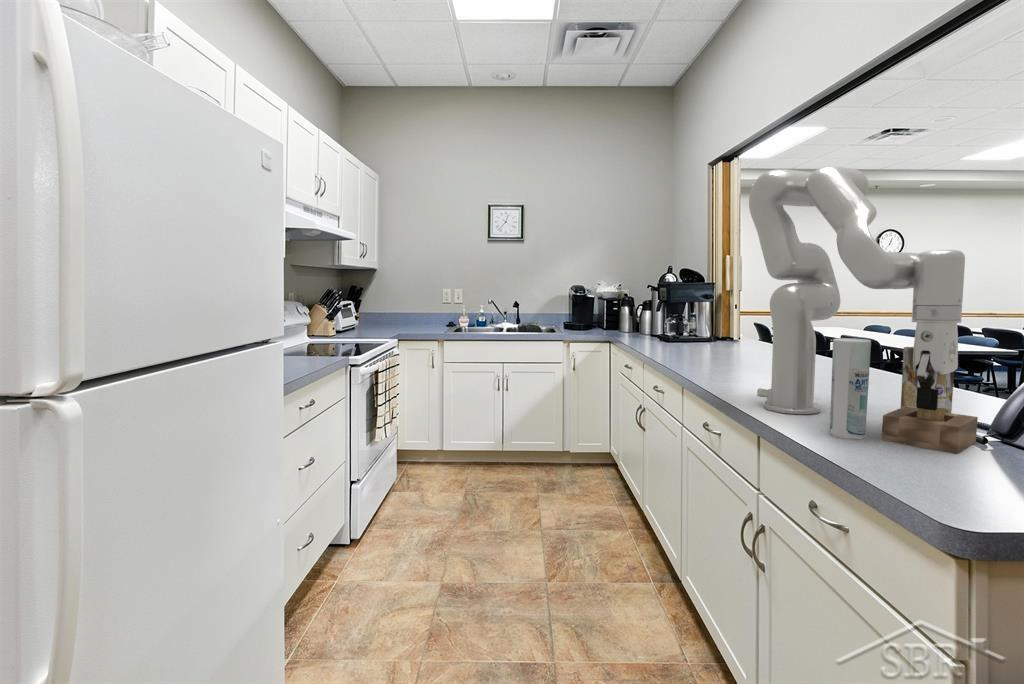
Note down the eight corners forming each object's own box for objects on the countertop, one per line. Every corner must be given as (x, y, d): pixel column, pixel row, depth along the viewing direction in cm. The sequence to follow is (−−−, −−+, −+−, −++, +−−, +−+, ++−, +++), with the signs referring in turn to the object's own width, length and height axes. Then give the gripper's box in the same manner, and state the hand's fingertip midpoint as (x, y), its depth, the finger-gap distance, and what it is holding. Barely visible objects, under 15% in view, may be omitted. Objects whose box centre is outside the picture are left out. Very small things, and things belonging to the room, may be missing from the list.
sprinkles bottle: (929, 426, 102) (933, 357, 100) (909, 420, 106) (913, 354, 105) (951, 425, 102) (955, 356, 101) (930, 419, 107) (934, 353, 105)
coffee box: (952, 421, 119) (957, 350, 117) (921, 420, 120) (926, 350, 118) (926, 411, 128) (931, 346, 126) (898, 411, 129) (902, 346, 127)
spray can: (841, 429, 114) (845, 337, 112) (872, 436, 108) (878, 339, 106) (822, 433, 111) (826, 339, 109) (853, 441, 105) (858, 341, 103)
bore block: (881, 439, 106) (882, 415, 105) (903, 429, 113) (904, 406, 112) (957, 454, 96) (959, 427, 96) (975, 441, 103) (977, 416, 103)
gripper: (946, 317, 94) (940, 417, 96) (973, 313, 104) (967, 404, 106) (897, 316, 100) (892, 410, 102) (927, 312, 110) (922, 398, 112)
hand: (931, 406), depth 104 cm, fingers closed on sprinkles bottle, 4 cm apart
